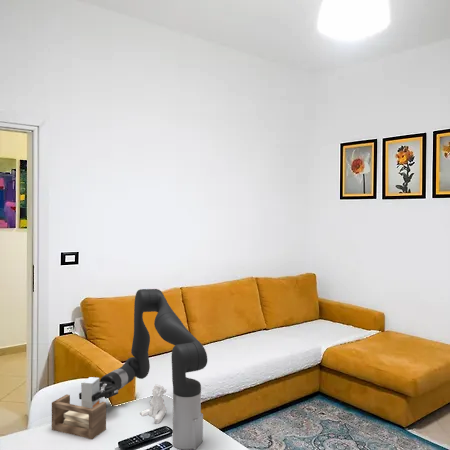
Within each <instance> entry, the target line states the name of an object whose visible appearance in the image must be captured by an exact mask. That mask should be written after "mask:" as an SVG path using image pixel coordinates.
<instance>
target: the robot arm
mask: <svg viewBox="0 0 450 450" xmlns="http://www.w3.org/2000/svg"><path fill="white" fill-rule="evenodd" d="M133 303H134V305H133V309H134V311H133V338H132V343H131V344H132V345H131V349H130V350H131V351H130V352H131V355H132V356H131V357H129V358H127V359H126V360H125V362H124V363H123V365H122V366H120V367H118V368H117V369H114V370H112V371H110V372H108V373H106V374H104V375H103V376H102V377H100V378H99V388H100V391H99V392H97V393H95V394H94V395H92V402H94V401H96V400H98V399H99V398H100V399H108V398H112V397H114V396H116V395H118V394H119V391H120V390H121V389H123V388H124V387H125V386H126V385H128V384H129V383H131V382H132V381H133V380H134V379H135V378H137V379H140V380H144V379H145V378H146V377H147V376H148V374H149V373H150V368H151V366H150V357H149V348H150V342H151V335H150V332H149V330H148V329H147V328H148V327H147V326H146V324H145V322H144V319H143V317H144V316H143V315H144V313H149V312H151V313H153V312H155V313H157V314H156V315H155V318H154V328H155V331H156V332H157V333H158V335H159V336H160V338H161V339H163V341H164V342H166V343H168V344H171V345H173V348H172V350H171V379H172V445H173V447H175V448H176V449H179V450H197V448H198V447H199V446H200V445H201V444H202V443H203V438H204V433H203V431H204V430H203V429H204V427H203V426H204V414H203V413H202V412H201V411H202V407H201V406H202V405H201V403H202V400H201V399H202V385H201V383H200V382H199V381H198V380H197V379H195V378H191V377H187V375H186V374H187V373H191V372H192V373H193V372H198V371H201V370H204V369H205V367H206V366H207V365H208V354H207V351H206V349H205V347H204V345H203V344H202V343H201V342H200V340H198V339H197V338H196V337H195V336H194V335H193V334H192V333H191V332H190V331H189V330H188V328H187V327H186V326H185V324H184V323H183V322H182V320H181V319H180V318H179V316H178V315H177V314H176V312H174V310H173V309H172V307H171V306H170V304H169V302H168V301H167V299H166V297H165V295H164V293H163V292H162V291H161V290H160V289H159V288H140V289H138V290H137V291H136V293H135V296H134V302H133ZM78 397H79V400H82V399H81V392H79V393H78Z"/></svg>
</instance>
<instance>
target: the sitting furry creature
mask: <svg viewBox="0 0 450 450" xmlns="http://www.w3.org/2000/svg"><path fill="white" fill-rule="evenodd" d="M166 392H167V389H165V388H164V386H163V385H160V384H155V385H154V387H153V388H152V398H151V400H150V401H149V404H150V408H147V409H144V410H142V411H141V412H139V415H141V417H145V416H149V417H152V418H154V424H155V425H156V424H157V425H158V424H160V423H161V421H162V420H163V418H164V417H165V415H166V412H167V407H166V404H165V403H164V401H165V400H164V398H163V396H164V394H165V393H166Z"/></svg>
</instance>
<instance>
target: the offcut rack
mask: <svg viewBox="0 0 450 450" xmlns="http://www.w3.org/2000/svg"><path fill="white" fill-rule="evenodd" d="M68 411H74V412H79V413H83V414H88V415H89V430H88V429H83V428H79V427H74V426H70V425H65V424H63V423H64V420H65V418H64V413H66V412H68ZM106 430H107V402H106V401H101V402H100V403H99V404H98V405H96V406H95V407H93V408H87V407H82V405H77V404H72V403H71V394H64V395H63V396H62V397H61V396H60V397H59V398H57V399H55V400H53V401H52V402H51V431H56V432H58V433H59V432H60V433H63V434H69V435H74V436H78V437H80V438H85V439H89V440H94V439H95V438H96V437H98V436H99V435H100V434H102V433H103V432H105V431H106Z"/></svg>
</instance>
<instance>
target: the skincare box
mask: <svg viewBox="0 0 450 450" xmlns="http://www.w3.org/2000/svg"><path fill="white" fill-rule="evenodd" d="M99 381H100V377H95V376H93V377H92V376H91V377H90V376H89V377H88V378H86V379H84V381H81V388H80V389H81V392H80V393H81V399H80V400H81V406H82V407H87V408H93V407H95V406H96V405H98V404H99V403H101V402H100V401H101V400H100V399H101V398H99V399H98V400H96V401H94V402H92V395H94V394H95V393H97V392H99V391H100V388H99Z"/></svg>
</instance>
